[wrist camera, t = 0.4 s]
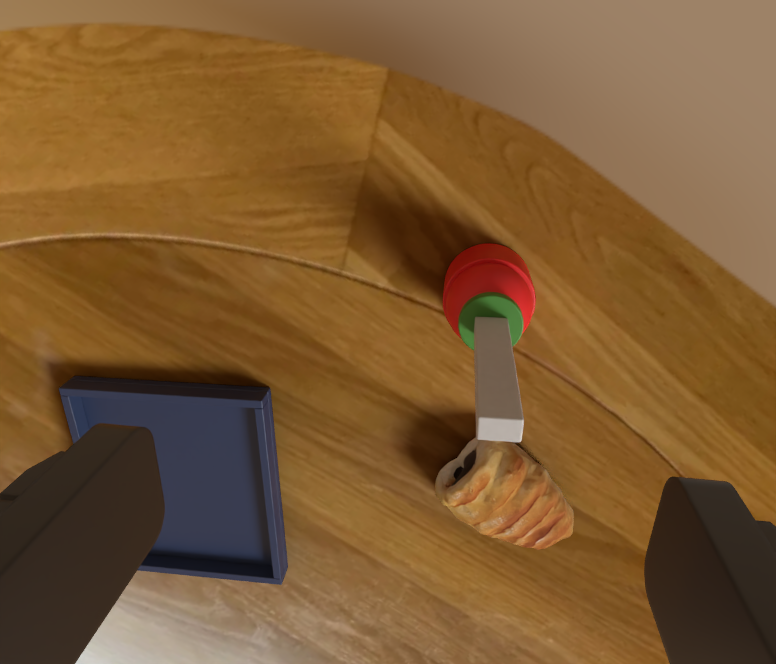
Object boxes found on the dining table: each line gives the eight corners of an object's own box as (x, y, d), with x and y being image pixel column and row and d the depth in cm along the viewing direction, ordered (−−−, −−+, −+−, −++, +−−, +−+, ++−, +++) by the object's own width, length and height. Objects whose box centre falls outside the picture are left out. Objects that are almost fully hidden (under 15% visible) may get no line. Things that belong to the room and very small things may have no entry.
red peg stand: (446, 241, 34) (430, 362, 20) (534, 244, 33) (582, 371, 19) (443, 321, 36) (427, 481, 22) (526, 325, 35) (564, 492, 21)
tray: (74, 375, 41) (57, 388, 39) (270, 387, 39) (261, 401, 38) (118, 550, 48) (106, 567, 46) (288, 566, 46) (281, 585, 44)
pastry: (595, 494, 40) (607, 534, 36) (527, 548, 42) (532, 591, 39) (488, 416, 38) (490, 451, 35) (424, 478, 41) (420, 516, 37)
